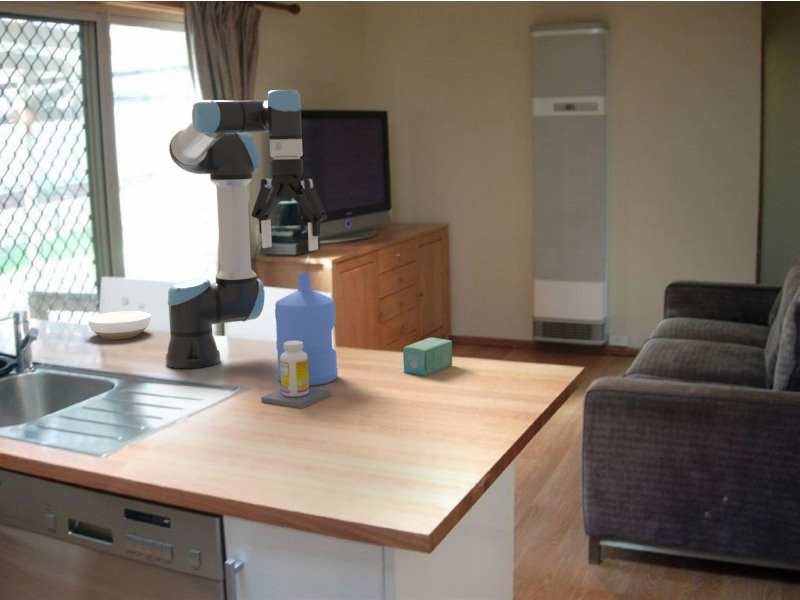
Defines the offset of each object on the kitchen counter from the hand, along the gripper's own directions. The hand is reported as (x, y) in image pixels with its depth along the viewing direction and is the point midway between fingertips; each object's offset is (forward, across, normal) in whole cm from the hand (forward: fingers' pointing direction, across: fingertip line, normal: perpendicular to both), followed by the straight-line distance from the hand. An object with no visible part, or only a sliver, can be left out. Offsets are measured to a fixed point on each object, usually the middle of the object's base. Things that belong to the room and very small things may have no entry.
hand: (289, 248), depth 214 cm
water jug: (+37, -8, +16) cm, 41 cm away
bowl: (+38, -95, +33) cm, 107 cm away
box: (+37, +16, +38) cm, 56 cm away
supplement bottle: (+36, 0, 0) cm, 36 cm away
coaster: (+37, 0, 0) cm, 37 cm away
